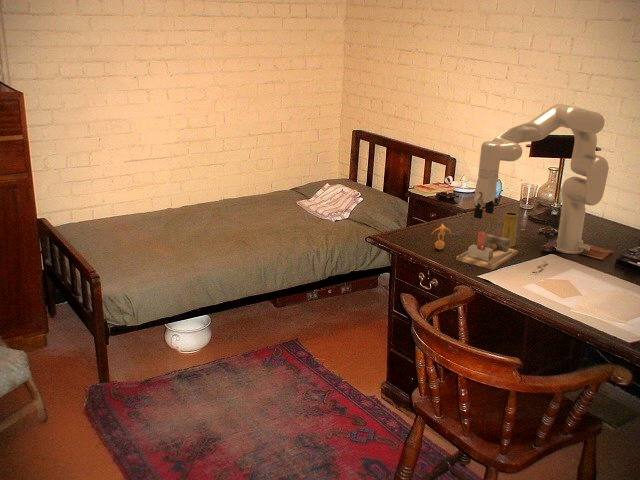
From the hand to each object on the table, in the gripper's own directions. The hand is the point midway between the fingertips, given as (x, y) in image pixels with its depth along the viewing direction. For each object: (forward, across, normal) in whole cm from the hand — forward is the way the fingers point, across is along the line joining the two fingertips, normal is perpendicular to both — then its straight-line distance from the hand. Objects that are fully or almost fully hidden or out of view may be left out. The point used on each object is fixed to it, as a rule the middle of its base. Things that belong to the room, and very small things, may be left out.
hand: (483, 215), depth 261 cm
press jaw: (+18, -1, 0) cm, 18 cm away
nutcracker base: (+20, -8, 0) cm, 21 cm away
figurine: (+20, -2, -19) cm, 27 cm away
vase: (+20, -28, 0) cm, 34 cm away
